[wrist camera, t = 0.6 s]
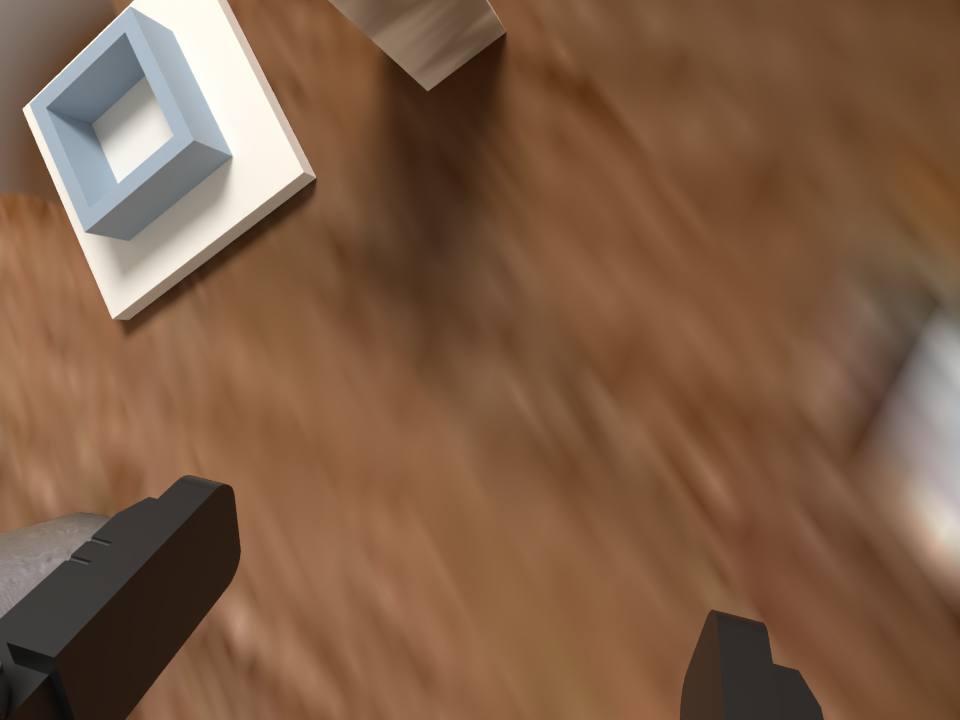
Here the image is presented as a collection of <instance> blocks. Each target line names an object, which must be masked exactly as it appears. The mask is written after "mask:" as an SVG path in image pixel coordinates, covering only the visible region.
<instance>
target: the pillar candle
mask: <svg viewBox="0 0 960 720" xmlns="http://www.w3.org/2000/svg"><path fill="white" fill-rule="evenodd" d="M109 520H110V519H109V518H107V517H105V516H102V515H98V514H91V513H82V512H81V513H75V514H70V515H66V516H63V517H60V518H56V519H53V520H49V521H46V522H42V523H39V524H35V525H32V526H28V527H24V528H20V529H17V530H13V531H9V532H5V533H2V534H0V618H1V617H3V616H4V615H5V614H6V613H7V612H8V611H9V610H10V609H11V608H13V607H14V606H15V605H16V604H17V603H18V602H19V601H20V600H21V599H23V598H24V597H25V596H26V595H27V594H28V593H29V592H30V591H31V590H33V589H34V588H35V587H36V586H37V585H38V584H39V583H40V582H41V581H43V580H44V579H45V578H46V577H47V576H48V575H49V574H50V573H51V572H53V571H54V570H55V569H56V568H57V567H58V566H59V565H60V564H61V563H63V562H64V561H65V560H67V561H68V560H69V559H70V557H71V554H73V553H74V552H75V551H76V550H77V549H78V548H79V547H80V546H81V545H83V544H84V543H85V542H86V541H90V540H91V538H92V536H93V535H94V534H95V533H96V532H97V531H98V530H99V529H100V528H101V527H103V526H104V525H105V524H106V523H107V522H108V521H109Z"/></svg>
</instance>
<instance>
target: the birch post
mask: <svg viewBox="0 0 960 720" xmlns="http://www.w3.org/2000/svg"><path fill="white" fill-rule="evenodd" d="M328 1H329V2H330V3H332V4H333V5H334V6H335V7H336V8H337V9H338V10H339V11H340V12H341V13H343V14H344V15H345V16H346V17H347V18H348V19H349V20H350V21H351V22H352V23H353V24H355V25H356V26H357V27H358V28H359V29H360V30H361V31H362V32H363V33H364V34H366V35H367V36H368V37H369V38H370V39H371V40H372V41H373V42H374V43H375V44H376V45H378V46H379V47H380V48H381V49H382V50H383V51H384V52H385V53H386V54H387V55H389V56H390V57H391V58H392V59H393V60H394V61H395V62H396V63H397V64H398V65H399V66H401V67H402V68H403V69H404V70H405V71H406V72H407V73H408V74H409V75H410V76H412V77H413V78H414V79H415V80H416V81H417V82H418V83H419V84H420V85H421V86H422V87H424V88H425V89H426V90H427V91H429V90H430V89H432V88H433V87H434V86H436V85H437V84H438V83H440V82H441V81H442V80H444V79H445V78H446V77H448V76H449V75H450V74H452V73H453V72H454V71H455V70H457V69H458V68H459V67H461V66H462V65H463V64H465V63H466V62H467V61H469V60H470V59H471V58H473V57H474V56H475V55H477V54H478V53H479V52H480V51H482V50H483V49H484V48H486V47H487V46H488V45H490V44H491V43H492V42H494V41H495V40H496V39H498V38H499V37H500V36H502V35H503V34H504V33H505V32H506V30H505V28H504V27H503V25H502V23H501V21H500V20H499V18H498V16H497V15H496V13H495V11H494V9H493V8H492V6H491V4H490V3H489V1H488V0H328Z"/></svg>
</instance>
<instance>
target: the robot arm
mask: <svg viewBox="0 0 960 720" xmlns="http://www.w3.org/2000/svg"><path fill="white" fill-rule="evenodd" d="M240 553H241V549H240V539H239V530H238V522H237V513H236V504H235V495H234V491H233V489H232V487H231V486H230V485H227V484H223V483H219V482H215V481H211V480H207V479H203V478H200V477H196V476H192V475H186V476H183V477H181V478H180V479H179V480H177V481H176V482H175V483H174V484H173V485H172V486H171V487H170V488H169V489H168V490H167V491H166V492H165V493H163V494H162V495H161V496H160V497H159V498H158V499H155V498H151V497H148V498H146V499H144V500H142V501H140V502H138V503H136V504H135V505H133V506H131V507H129V508H127V509H125V510H123V511H121V512H119V513H117V514H116V515H115V516H114V517H113V518H111V519H110V520H109V521H108V522H107V523H106V524H105V525H104V526H103V527H101V528H100V529H99V530H98V531H97V532H96V533H95V534H94V535H93V536H92V538H91V540H90V541H86V542H85V543H84V544H83V545H81V546H80V547H79V548H78V549H77V550H76V551H75V552H74V553H73V554H71V557H70V559H69V560H68V561H67V560H65V561H64V562H63V563H61V564H60V565H59V566H58V567H57V568H56V569H55V570H54V571H53V572H51V573H50V574H49V575H48V576H47V577H46V578H45V579H44V580H43V581H41V582H40V583H39V584H38V585H37V586H36V587H35V588H34V589H33V590H31V591H30V592H29V593H28V594H27V595H26V596H25V597H24V598H23V599H21V600H20V601H19V602H18V603H17V604H16V605H15V606H14V607H13V608H11V609H10V610H9V611H8V612H7V613H6V614H5V615H4V616H3V617H1V618H0V720H125V719H126V718H127V716H128V715H129V714H130V713H131V711H132V710H133V709H134V707H135V706H136V705H137V704H138V702H139V701H140V700H141V698H142V697H143V696H144V694H145V693H146V692H147V691H148V689H149V688H150V687H151V685H152V684H153V683H154V682H155V680H156V679H157V678H158V676H159V675H160V674H161V673H162V671H163V670H164V669H165V667H166V666H167V665H168V663H169V662H170V661H171V660H172V658H173V657H174V656H175V654H176V653H177V652H178V651H179V649H180V648H181V647H182V645H183V644H184V643H185V641H186V640H187V639H188V638H189V636H190V635H191V634H192V632H193V631H194V630H195V629H196V627H197V626H198V625H199V623H200V622H201V621H202V620H203V618H204V617H205V616H206V614H207V613H208V612H209V610H210V609H211V608H212V607H213V605H214V604H215V603H216V601H217V600H218V599H219V598H220V596H221V595H222V594H223V592H224V591H225V590H226V588H227V587H228V586H229V584H230V583H231V581H232V579H233V577H234V575H235V573H236V570H237V567H238V564H239V560H240ZM680 720H824V719H823V714H822V710H821V707H820V705H819V703H818V702H817V700H816V698H815V697H814V695H813V694H812V692H811V690H810V689H809V687H808V685H807V684H806V682H805V680H804V679H803V677H802V676H801V674H800V672H799V671H798V670H795V669H791V668H787V667H784V666H780V665H776V664H773V661H772V655H771V649H770V643H769V637H768V631H767V628H766V626H765V624H764V623H763V622H759V621H755V620H751V619H747V618H743V617H739V616H735V615H731V614H727V613H723V612H719V611H715V610H711V611H710V612H709V614H708V616H707V619H706V621H705V624H704V627H703V629H702V632H701V635H700V637H699V640H698V643H697V645H696V648H695V651H694V653H693V656H692V659H691V662H690V664H689V667H688V670H687V672H686V676H685V680H684V684H683V690H682V697H681V707H680Z"/></svg>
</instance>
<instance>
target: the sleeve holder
mask: <svg viewBox="0 0 960 720" xmlns="http://www.w3.org/2000/svg"><path fill="white" fill-rule="evenodd" d="M23 112H24V114H25V116H26V119H27V121H28V123H29V126H30V128H31V130H32V133H33V135H34V137H35V140H36V142H37V144H38V147H39V149H40V151H41V153H42V156H43V158H44V161H45V163H46V165H47V168H48V170H49V172H50V175H51V177H52V179H53V182H54V184H55V186H56V189H57V191H58V193H59V196H60V198H61V200H62V203H63V205H64V207H65V210H66V212H67V214H68V217H69V219H70V221H71V224H72V226H73V228H74V231H75V233H76V235H77V238H78V240H79V242H80V245H81V247H82V249H83V251H84V254H85V256H86V258H87V261H88V263H89V265H90V268H91V270H92V272H93V275H94V277H95V279H96V282H97V284H98V286H99V289H100V291H101V293H102V296H103V298H104V300H105V303H106V305H107V307H108V310H109V312H110V314H111V317H112V319H119V320H130V319H131V318H132V317H133V316H135V315H136V314H137V313H139V312H140V311H141V310H143V309H144V308H145V307H147V306H148V305H149V304H151V303H152V302H153V301H155V300H156V299H157V298H159V297H160V296H161V295H162V294H164V293H165V292H166V291H168V290H169V289H170V288H172V287H173V286H174V285H176V284H177V283H178V282H180V281H181V280H182V279H184V278H185V277H186V276H188V275H189V274H190V273H191V272H193V271H194V270H195V269H197V268H198V267H199V266H201V265H202V264H203V263H205V262H206V261H207V260H209V259H210V258H211V257H213V256H214V255H215V254H217V253H218V252H219V251H220V250H222V249H223V248H224V247H226V246H227V245H228V244H230V243H231V242H232V241H234V240H235V239H236V238H238V237H239V236H240V235H242V234H243V233H244V232H246V231H247V230H248V229H249V228H251V227H252V226H253V225H255V224H256V223H257V222H259V221H260V220H261V219H263V218H264V217H265V216H267V215H268V214H269V213H271V212H272V211H273V210H275V209H276V208H277V207H278V206H280V205H281V204H282V203H284V202H285V201H286V200H288V199H289V198H290V197H292V196H293V195H294V194H296V193H297V192H298V191H300V190H301V189H302V188H303V187H305V186H306V185H307V184H309V183H310V182H311V181H313V180H314V179H315V178H316V176H315V174H314V172H313V170H312V168H311V166H310V164H309V162H308V160H307V158H306V156H305V154H304V152H303V150H302V148H301V146H300V144H299V142H298V140H297V138H296V136H295V134H294V132H293V130H292V128H291V126H290V124H289V122H288V121H287V119H286V117H285V115H284V113H283V111H282V109H281V107H280V105H279V103H278V101H277V99H276V97H275V95H274V93H273V91H272V89H271V87H270V85H269V83H268V81H267V79H266V77H265V75H264V73H263V71H262V69H261V67H260V65H259V63H258V61H257V59H256V57H255V55H254V53H253V51H252V49H251V47H250V45H249V43H248V41H247V39H246V37H245V35H244V33H243V31H242V29H241V28H240V26H239V24H238V22H237V20H236V18H235V16H234V14H233V12H232V10H231V8H230V6H229V4H228V2H227V0H134V1H133V2H132V3H131V4H130V5H129V6H128V7H127V8H126V9H125V10H124V11H123V12H122V13H121V14H120V15H119V16H118V17H117V18H116V19H115V20H114V21H113V22H112V23H111V24H110V25H109V26H107V27H106V29H104V30H103V31H102V32H101V33H100V34H99V35H98V36H97V37H96V38H95V39H94V40H93V41H92V42H91V43H90V44H89V45H88V46H87V47H86V48H85V49H84V50H83V51H82V52H81V53H80V54H79V55H78V56H77V57H76V58H75V59H74V60H73V61H72V62H71V63H69V64H68V66H66V67H65V68H64V69H63V70H62V71H61V72H60V73H59V74H58V75H57V76H56V77H55V78H54V79H53V80H52V81H51V82H50V83H49V84H48V85H47V86H46V87H45V88H44V89H43V90H42V91H41V92H40V93H39V94H38V95H37V96H36V97H35V98H33V100H31V101H30V102H29V103H28V104H27V105H26V106H25V107H24V108H23Z"/></svg>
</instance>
